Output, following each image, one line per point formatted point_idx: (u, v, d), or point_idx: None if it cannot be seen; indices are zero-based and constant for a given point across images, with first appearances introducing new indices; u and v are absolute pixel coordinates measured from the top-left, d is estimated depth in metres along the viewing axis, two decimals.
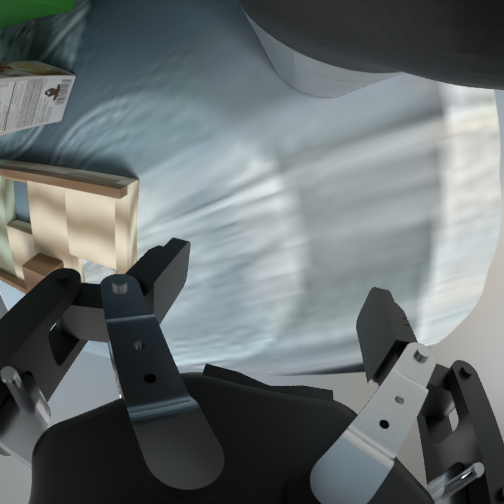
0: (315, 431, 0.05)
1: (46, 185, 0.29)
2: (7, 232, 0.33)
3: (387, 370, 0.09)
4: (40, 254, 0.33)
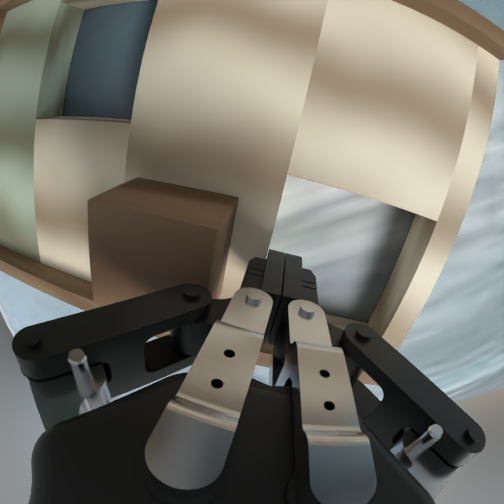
0: None
1: None
2: (35, 137, 0.13)
3: (279, 328, 0.10)
4: (146, 180, 0.13)
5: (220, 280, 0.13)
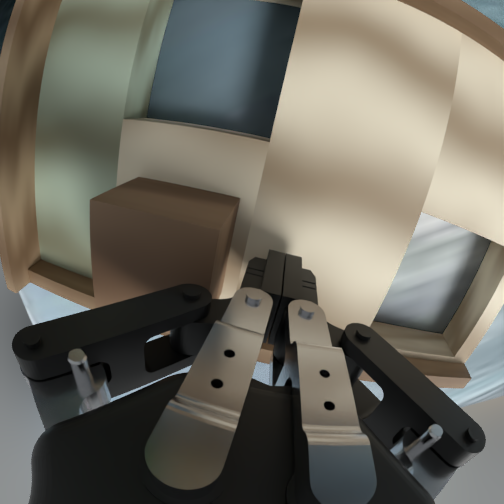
0: None
1: (396, 14, 0.08)
2: (122, 141, 0.12)
3: (279, 328, 0.10)
4: (147, 180, 0.13)
5: (221, 280, 0.13)
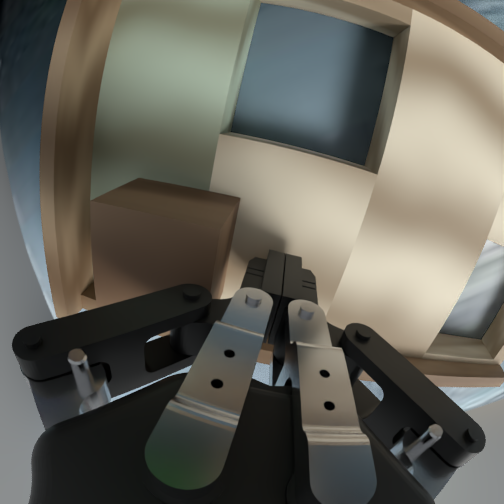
0: None
1: (481, 61, 0.08)
2: (217, 158, 0.12)
3: (279, 328, 0.10)
4: (147, 181, 0.13)
5: (222, 280, 0.14)
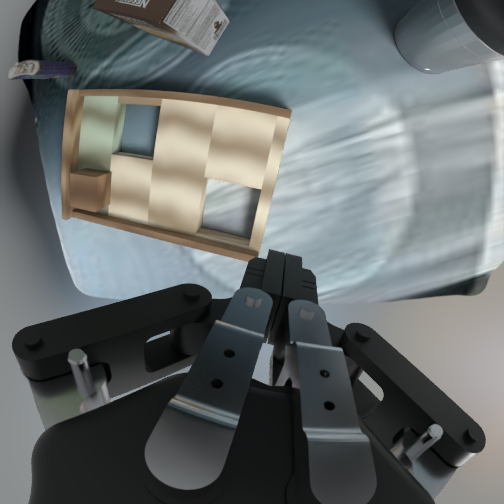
0: None
1: (190, 107, 0.33)
2: (111, 161, 0.38)
3: (279, 328, 0.10)
4: (88, 168, 0.38)
5: (106, 197, 0.39)
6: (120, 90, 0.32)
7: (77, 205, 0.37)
